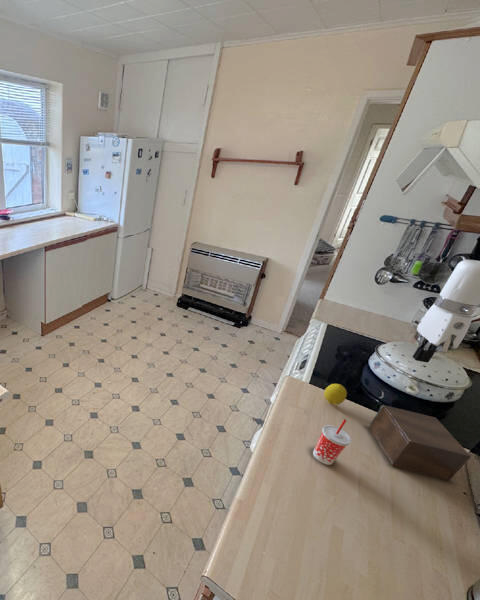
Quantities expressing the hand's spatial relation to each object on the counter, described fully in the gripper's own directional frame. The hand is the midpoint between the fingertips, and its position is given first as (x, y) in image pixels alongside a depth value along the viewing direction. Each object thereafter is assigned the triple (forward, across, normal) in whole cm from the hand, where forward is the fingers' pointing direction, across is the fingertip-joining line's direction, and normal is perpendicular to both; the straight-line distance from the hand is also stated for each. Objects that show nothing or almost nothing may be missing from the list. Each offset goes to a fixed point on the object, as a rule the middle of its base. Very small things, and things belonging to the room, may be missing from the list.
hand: (419, 359), depth 96 cm
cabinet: (+22, -17, +3) cm, 28 cm away
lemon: (+22, -2, +17) cm, 27 cm away
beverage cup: (+21, -28, +27) cm, 44 cm away
